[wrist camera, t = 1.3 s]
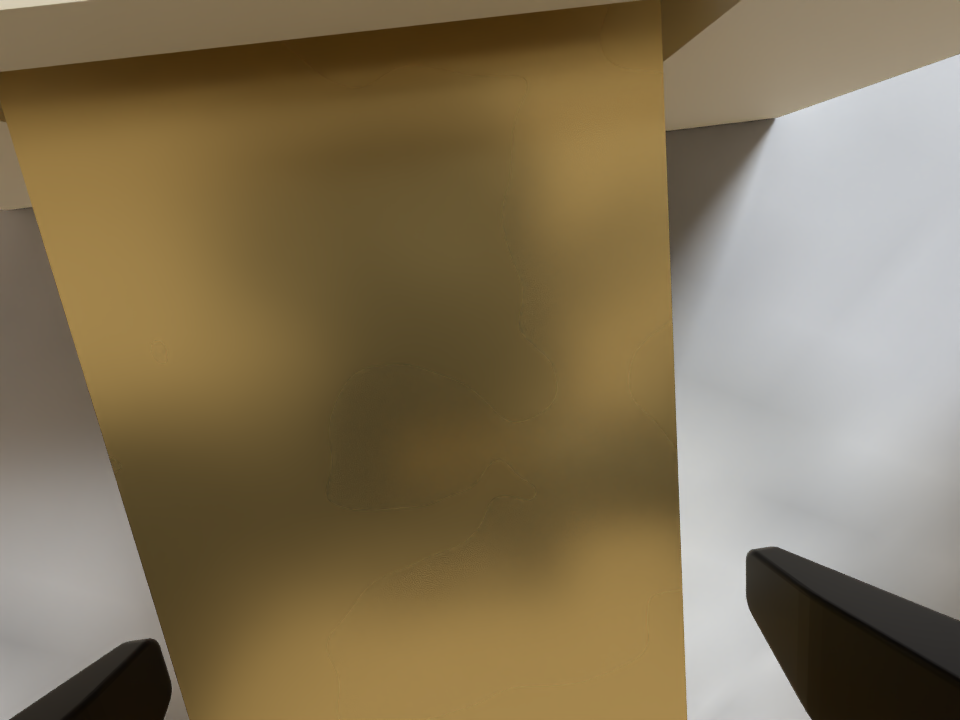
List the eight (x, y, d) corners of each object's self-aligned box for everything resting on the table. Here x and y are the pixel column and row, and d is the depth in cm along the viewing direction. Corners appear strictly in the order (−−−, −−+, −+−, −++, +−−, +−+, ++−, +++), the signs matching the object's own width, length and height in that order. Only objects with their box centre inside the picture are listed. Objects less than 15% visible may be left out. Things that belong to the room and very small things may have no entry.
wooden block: (548, -277, 8) (830, -1677, 2) (616, 660, 12) (781, 1073, 6) (124, -236, 8) (-857, -1676, 2) (336, 702, 12) (226, 1173, 6)
